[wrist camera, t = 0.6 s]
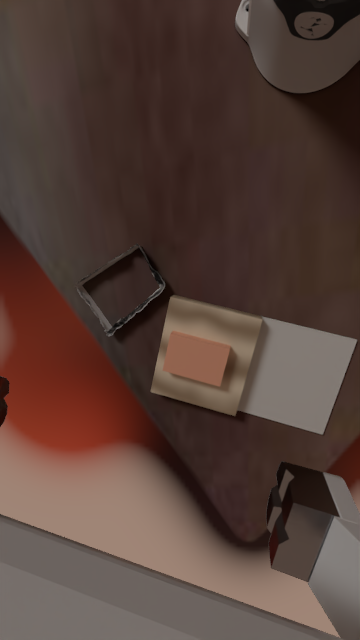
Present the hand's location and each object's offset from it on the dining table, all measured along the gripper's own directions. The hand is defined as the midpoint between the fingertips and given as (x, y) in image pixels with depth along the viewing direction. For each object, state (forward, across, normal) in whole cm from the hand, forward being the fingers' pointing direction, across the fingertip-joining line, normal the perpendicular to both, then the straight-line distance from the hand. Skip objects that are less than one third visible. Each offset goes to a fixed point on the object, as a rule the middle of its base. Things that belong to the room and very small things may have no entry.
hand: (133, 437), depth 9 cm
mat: (+42, -14, +10) cm, 45 cm away
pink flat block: (+39, +1, +10) cm, 41 cm away
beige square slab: (+42, 0, +10) cm, 43 cm away
